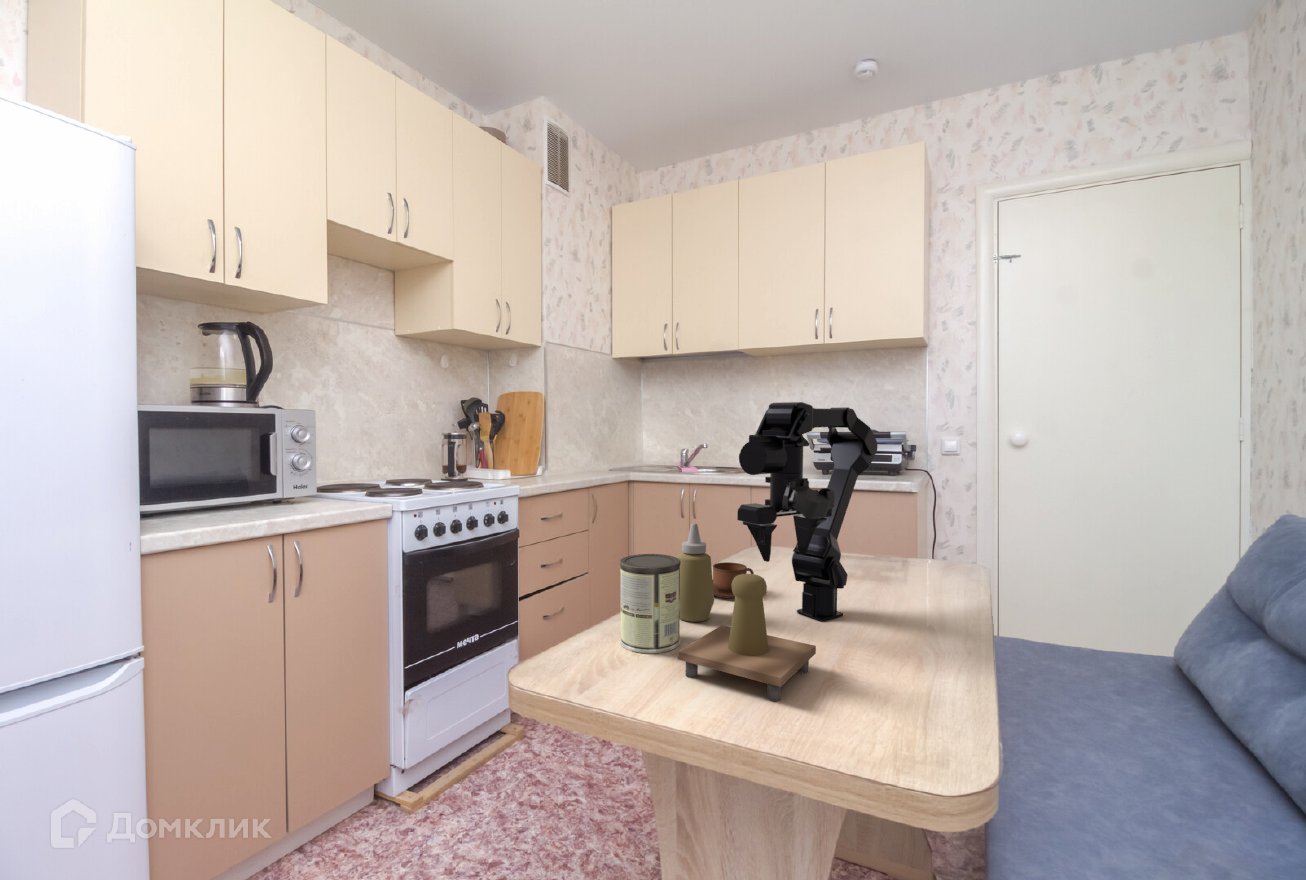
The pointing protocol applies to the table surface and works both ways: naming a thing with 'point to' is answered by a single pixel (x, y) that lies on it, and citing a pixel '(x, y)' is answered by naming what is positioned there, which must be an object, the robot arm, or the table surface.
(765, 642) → the olive pepper shaker
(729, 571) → the cup and saucer
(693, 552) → the squeeze bottle
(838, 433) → the robot arm
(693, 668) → the small wooden stand
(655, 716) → the table surface
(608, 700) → the table surface
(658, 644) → the coffee can
